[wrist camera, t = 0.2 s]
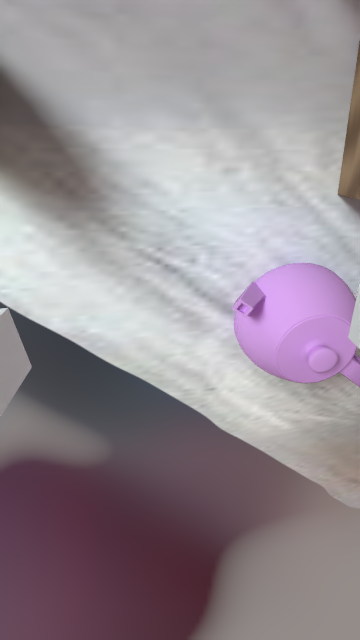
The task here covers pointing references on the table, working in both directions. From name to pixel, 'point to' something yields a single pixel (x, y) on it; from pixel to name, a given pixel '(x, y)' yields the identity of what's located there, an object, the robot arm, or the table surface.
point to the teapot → (298, 324)
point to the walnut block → (352, 144)
